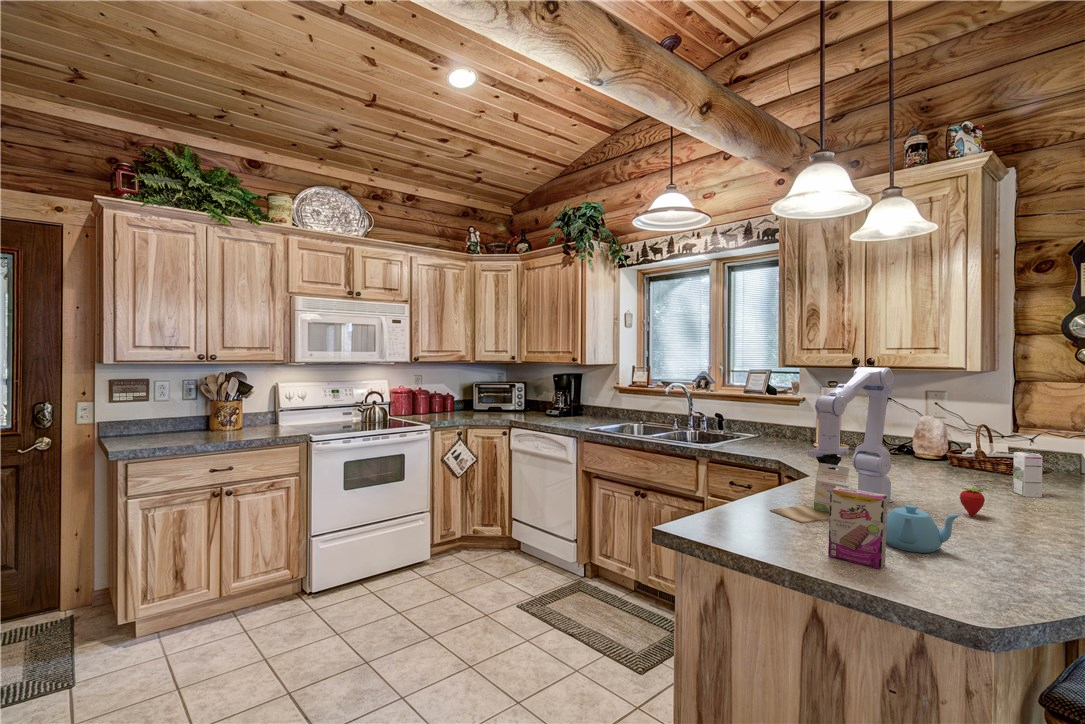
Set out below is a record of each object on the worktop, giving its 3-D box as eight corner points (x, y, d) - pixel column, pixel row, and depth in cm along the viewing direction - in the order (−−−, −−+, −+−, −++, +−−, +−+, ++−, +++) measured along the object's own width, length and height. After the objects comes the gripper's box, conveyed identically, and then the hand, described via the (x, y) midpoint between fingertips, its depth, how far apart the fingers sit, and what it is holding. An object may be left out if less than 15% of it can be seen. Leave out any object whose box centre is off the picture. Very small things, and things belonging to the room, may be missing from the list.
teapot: (915, 535, 143) (916, 497, 143) (964, 557, 128) (965, 514, 128) (863, 536, 142) (864, 498, 142) (906, 558, 127) (907, 515, 127)
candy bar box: (827, 557, 127) (829, 489, 127) (832, 551, 131) (834, 485, 131) (882, 570, 120) (884, 498, 120) (886, 564, 124) (888, 493, 123)
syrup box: (1042, 497, 181) (1044, 455, 181) (1022, 496, 183) (1024, 454, 182) (1031, 493, 187) (1032, 452, 187) (1011, 492, 188) (1012, 451, 188)
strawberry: (957, 516, 160) (958, 483, 160) (960, 511, 165) (961, 479, 165) (982, 521, 156) (983, 487, 155) (985, 515, 161) (986, 482, 161)
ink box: (812, 509, 164) (816, 472, 157) (814, 498, 168) (817, 461, 161) (845, 515, 160) (850, 477, 153) (845, 504, 164) (850, 466, 157)
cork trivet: (804, 506, 168) (804, 505, 168) (837, 518, 157) (837, 516, 157) (769, 511, 164) (769, 509, 163) (801, 523, 152) (801, 521, 152)
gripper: (835, 431, 170) (834, 474, 170) (800, 434, 164) (799, 477, 165) (855, 435, 163) (854, 479, 163) (819, 437, 158) (818, 483, 158)
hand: (827, 479), depth 164 cm, fingers closed
